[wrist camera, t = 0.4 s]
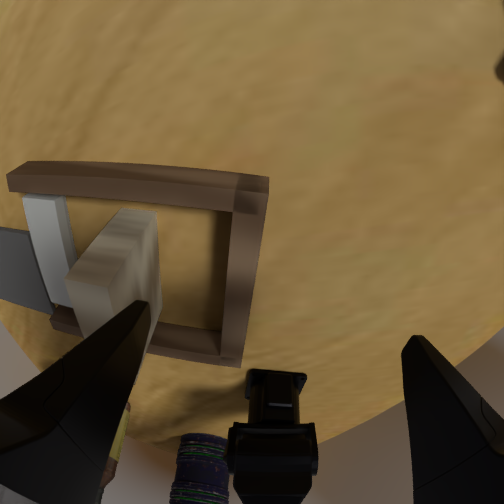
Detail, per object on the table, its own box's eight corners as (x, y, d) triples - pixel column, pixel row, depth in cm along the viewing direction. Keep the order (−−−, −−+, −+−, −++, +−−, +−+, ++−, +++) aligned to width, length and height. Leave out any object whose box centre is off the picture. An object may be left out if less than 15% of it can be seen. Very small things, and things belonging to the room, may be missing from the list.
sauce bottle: (90, 392, 41) (54, 496, 25) (108, 386, 39) (70, 503, 22) (121, 412, 44) (93, 513, 27) (141, 407, 42) (112, 519, 25)
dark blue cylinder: (170, 437, 48) (156, 507, 36) (201, 428, 44) (188, 510, 32) (212, 454, 52) (203, 519, 39) (245, 445, 47) (239, 520, 35)
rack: (242, 344, 30) (240, 368, 28) (65, 310, 30) (53, 328, 28) (268, 176, 21) (268, 194, 18) (27, 161, 20) (6, 174, 18)
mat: (56, 312, 30) (54, 315, 30) (-2, 294, 30) (-4, 297, 30) (30, 231, 24) (27, 234, 24) (-29, 222, 24) (-32, 225, 24)
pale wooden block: (163, 306, 28) (134, 385, 21) (134, 301, 28) (100, 376, 21) (156, 211, 23) (107, 287, 15) (121, 207, 23) (63, 278, 15)
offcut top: (85, 302, 28) (80, 310, 27) (56, 294, 28) (51, 301, 27) (62, 194, 22) (54, 200, 21) (30, 191, 22) (22, 197, 21)
